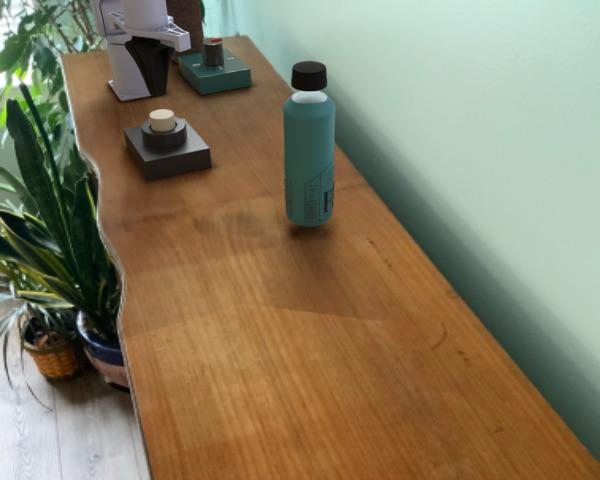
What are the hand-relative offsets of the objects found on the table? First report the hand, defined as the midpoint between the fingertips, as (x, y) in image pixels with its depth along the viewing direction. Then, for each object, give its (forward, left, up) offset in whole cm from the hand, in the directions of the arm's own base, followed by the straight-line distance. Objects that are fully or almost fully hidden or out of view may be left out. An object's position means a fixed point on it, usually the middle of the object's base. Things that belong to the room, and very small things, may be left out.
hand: (158, 94), depth 91 cm
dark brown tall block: (-40, +17, -10) cm, 45 cm away
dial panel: (-27, +18, -10) cm, 34 cm away
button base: (0, 0, -10) cm, 10 cm away
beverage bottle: (+27, +11, -10) cm, 31 cm away
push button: (0, 0, -5) cm, 5 cm away
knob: (-27, +18, -6) cm, 33 cm away
